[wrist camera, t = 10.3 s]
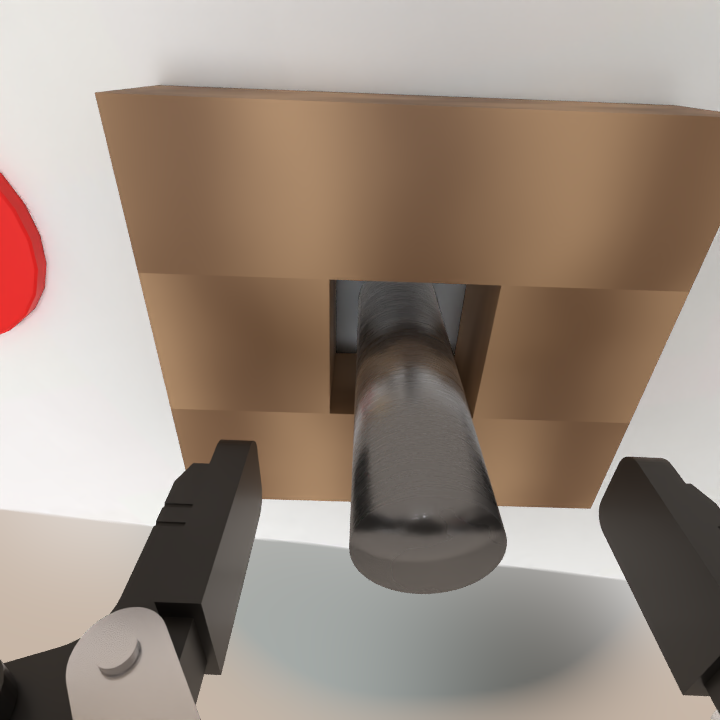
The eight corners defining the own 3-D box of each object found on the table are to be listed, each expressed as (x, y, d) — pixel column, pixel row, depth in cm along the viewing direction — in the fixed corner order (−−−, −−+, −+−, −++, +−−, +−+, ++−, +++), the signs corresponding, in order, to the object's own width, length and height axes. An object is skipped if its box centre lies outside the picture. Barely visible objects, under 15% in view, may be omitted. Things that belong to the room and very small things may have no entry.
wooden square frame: (674, 105, 14) (768, 118, 11) (556, 440, 22) (590, 508, 19) (158, 85, 14) (95, 92, 11) (218, 429, 22) (192, 496, 18)
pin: (439, 266, 17) (522, 499, 8) (430, 335, 19) (490, 595, 10) (359, 263, 17) (351, 493, 8) (357, 332, 19) (348, 591, 10)
